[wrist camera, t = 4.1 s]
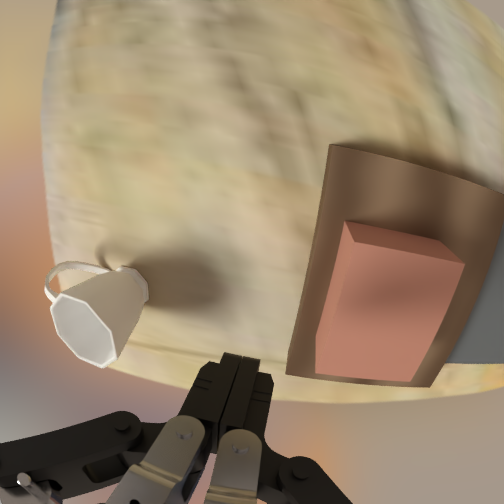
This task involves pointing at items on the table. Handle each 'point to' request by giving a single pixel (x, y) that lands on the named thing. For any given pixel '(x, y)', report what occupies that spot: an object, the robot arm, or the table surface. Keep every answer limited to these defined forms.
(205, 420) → the robot arm
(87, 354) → the cup
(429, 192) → the platform
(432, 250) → the block
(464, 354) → the mat
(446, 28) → the table surface
